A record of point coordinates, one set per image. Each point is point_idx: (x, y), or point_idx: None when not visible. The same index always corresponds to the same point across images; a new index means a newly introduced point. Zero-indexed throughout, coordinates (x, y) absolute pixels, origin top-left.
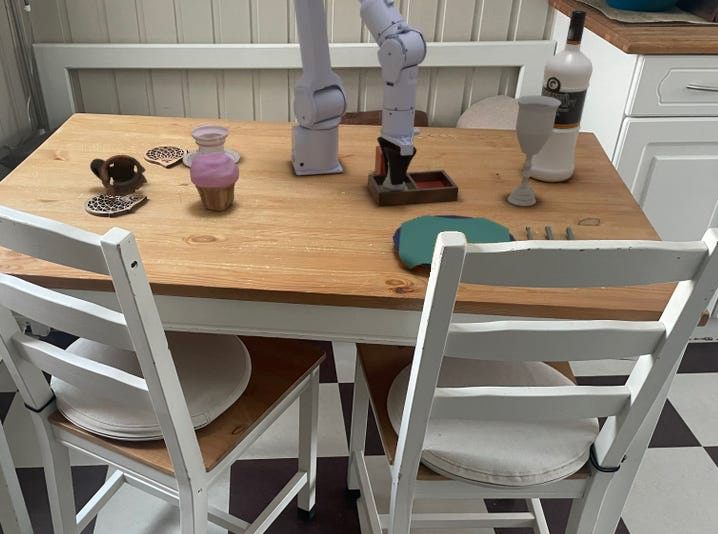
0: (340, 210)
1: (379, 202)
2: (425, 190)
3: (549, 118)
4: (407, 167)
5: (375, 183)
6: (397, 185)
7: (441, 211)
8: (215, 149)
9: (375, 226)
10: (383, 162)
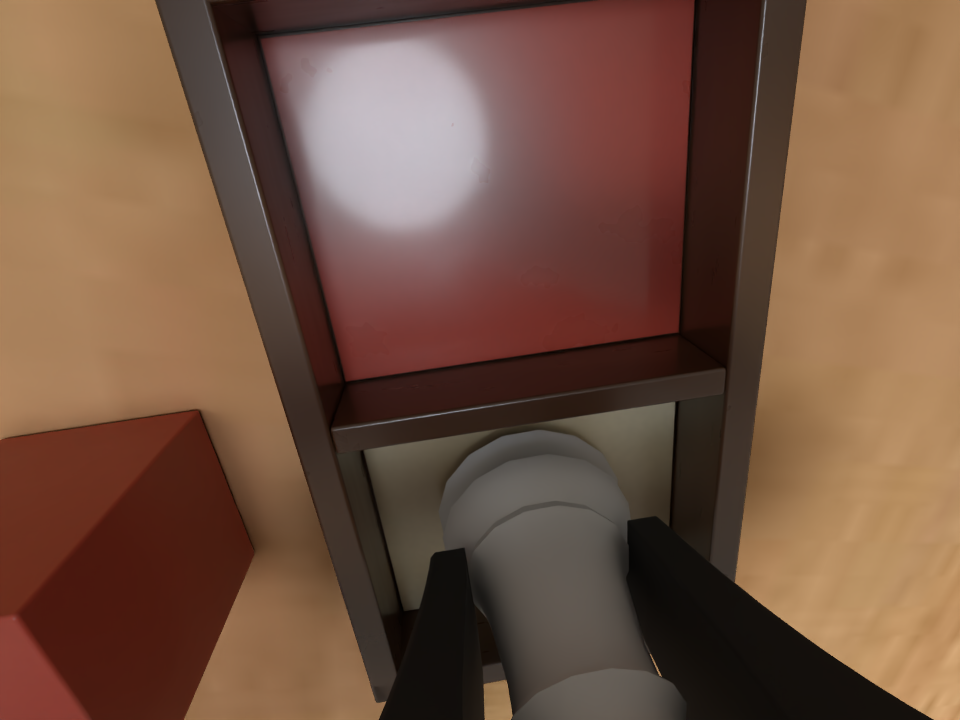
0: None
1: None
2: (765, 315)
3: None
4: (818, 649)
5: None
6: (623, 535)
7: (886, 169)
8: None
9: (917, 577)
10: (188, 676)
